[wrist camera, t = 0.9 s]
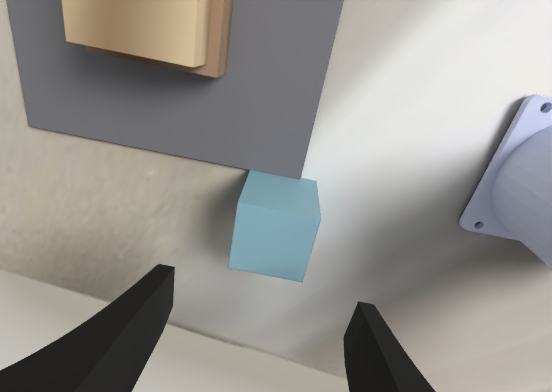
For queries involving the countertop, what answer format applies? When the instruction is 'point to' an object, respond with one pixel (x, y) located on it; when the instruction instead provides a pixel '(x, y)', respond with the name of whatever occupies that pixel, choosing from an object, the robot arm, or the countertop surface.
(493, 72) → the countertop surface
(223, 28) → the tower base
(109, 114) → the mat
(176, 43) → the tower mid
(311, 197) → the block
